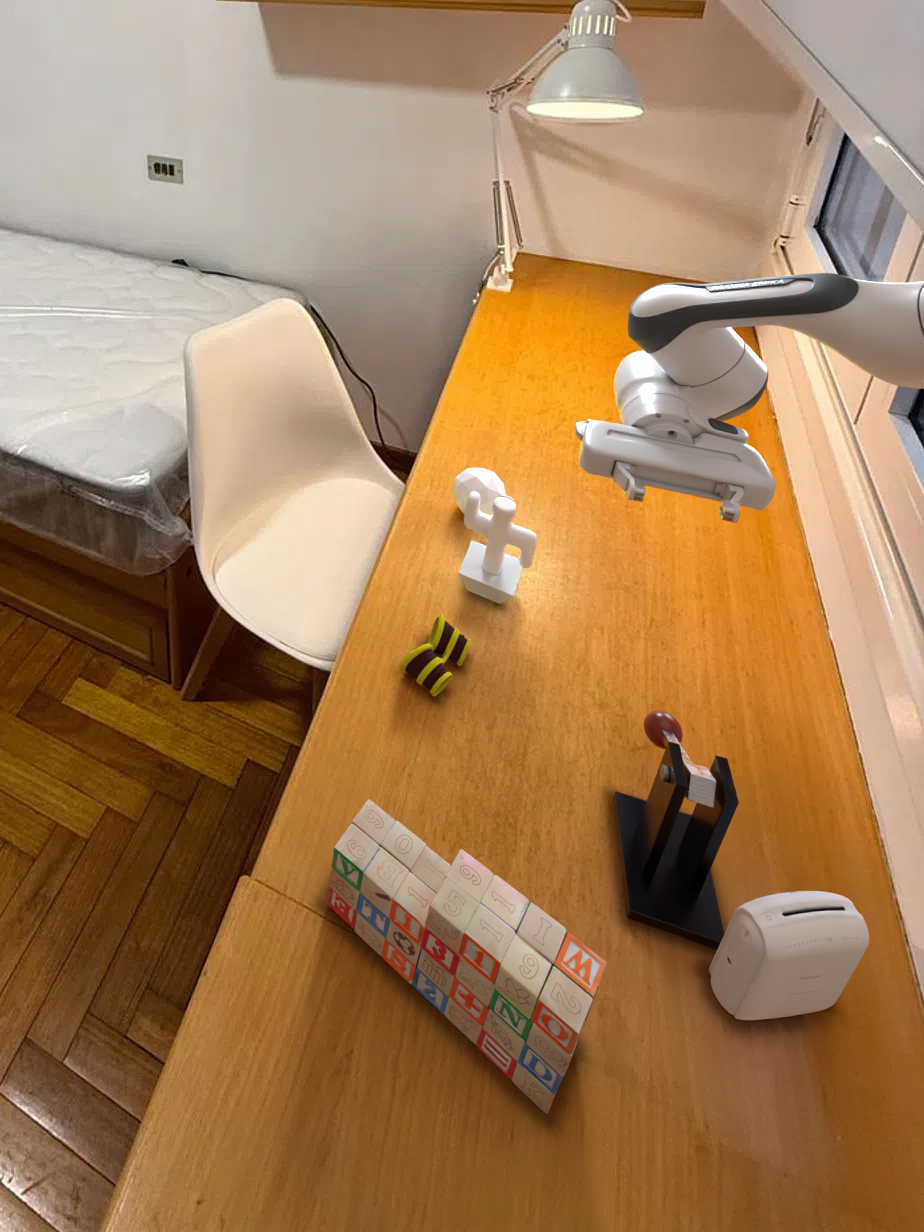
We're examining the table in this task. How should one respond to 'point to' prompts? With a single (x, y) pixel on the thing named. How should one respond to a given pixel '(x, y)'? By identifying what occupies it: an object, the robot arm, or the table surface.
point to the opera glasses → (428, 664)
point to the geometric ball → (478, 488)
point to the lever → (699, 778)
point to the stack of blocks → (468, 948)
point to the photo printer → (788, 954)
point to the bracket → (674, 851)
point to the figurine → (495, 550)
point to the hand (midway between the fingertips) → (683, 506)
